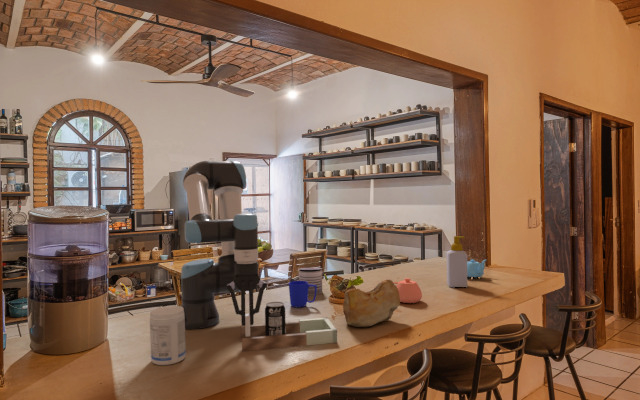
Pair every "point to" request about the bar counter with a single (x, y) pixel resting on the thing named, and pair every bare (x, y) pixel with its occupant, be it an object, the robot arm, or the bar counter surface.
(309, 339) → the pale grey box
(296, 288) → the mug
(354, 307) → the rough brown rock
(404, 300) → the sugar bowl
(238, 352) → the bar counter surface
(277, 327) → the beverage can
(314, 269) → the can
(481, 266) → the teapot
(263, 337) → the trough
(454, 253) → the soap bottle
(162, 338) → the supplement tub
